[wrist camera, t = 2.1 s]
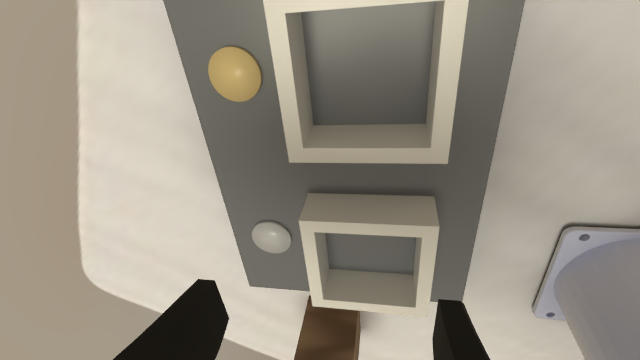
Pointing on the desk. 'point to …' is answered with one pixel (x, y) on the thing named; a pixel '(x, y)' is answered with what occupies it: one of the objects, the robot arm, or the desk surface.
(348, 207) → the socket board
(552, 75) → the desk surface
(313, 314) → the walnut peg
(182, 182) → the desk surface
